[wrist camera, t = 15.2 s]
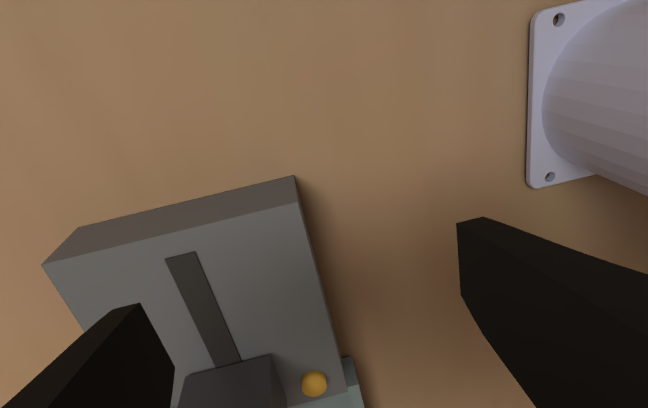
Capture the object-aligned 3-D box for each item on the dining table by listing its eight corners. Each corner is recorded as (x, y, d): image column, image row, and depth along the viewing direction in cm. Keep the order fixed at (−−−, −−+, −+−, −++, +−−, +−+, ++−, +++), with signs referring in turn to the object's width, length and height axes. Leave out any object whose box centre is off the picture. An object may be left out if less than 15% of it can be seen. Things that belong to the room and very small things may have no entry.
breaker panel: (293, 175, 17) (298, 207, 14) (338, 347, 22) (350, 400, 19) (77, 227, 17) (33, 272, 14) (170, 390, 22) (153, 451, 19)
